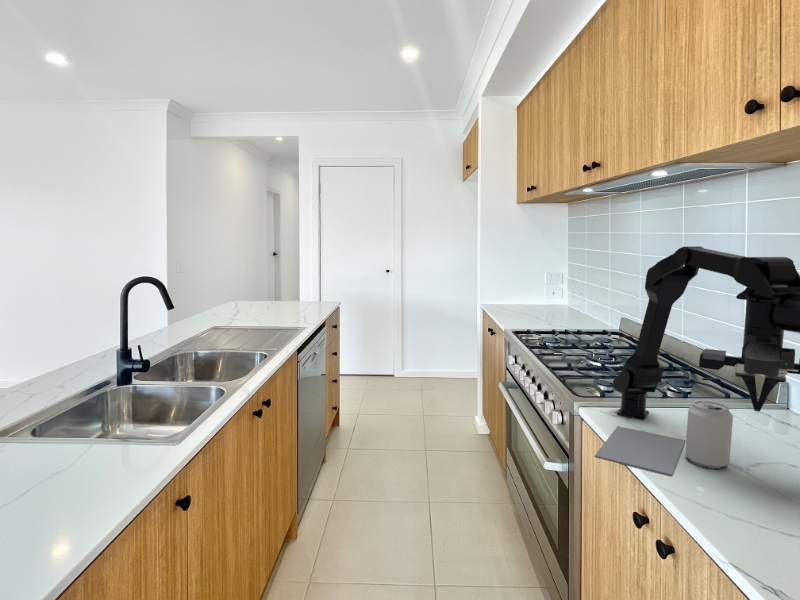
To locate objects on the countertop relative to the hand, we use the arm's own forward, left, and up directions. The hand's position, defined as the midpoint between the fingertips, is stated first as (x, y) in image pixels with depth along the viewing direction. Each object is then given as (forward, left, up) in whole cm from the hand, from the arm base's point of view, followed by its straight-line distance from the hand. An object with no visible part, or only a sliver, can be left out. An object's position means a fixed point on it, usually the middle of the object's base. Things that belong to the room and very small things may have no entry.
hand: (757, 410), depth 89 cm
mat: (-2, -19, -13) cm, 23 cm away
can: (-3, -7, -13) cm, 15 cm away
